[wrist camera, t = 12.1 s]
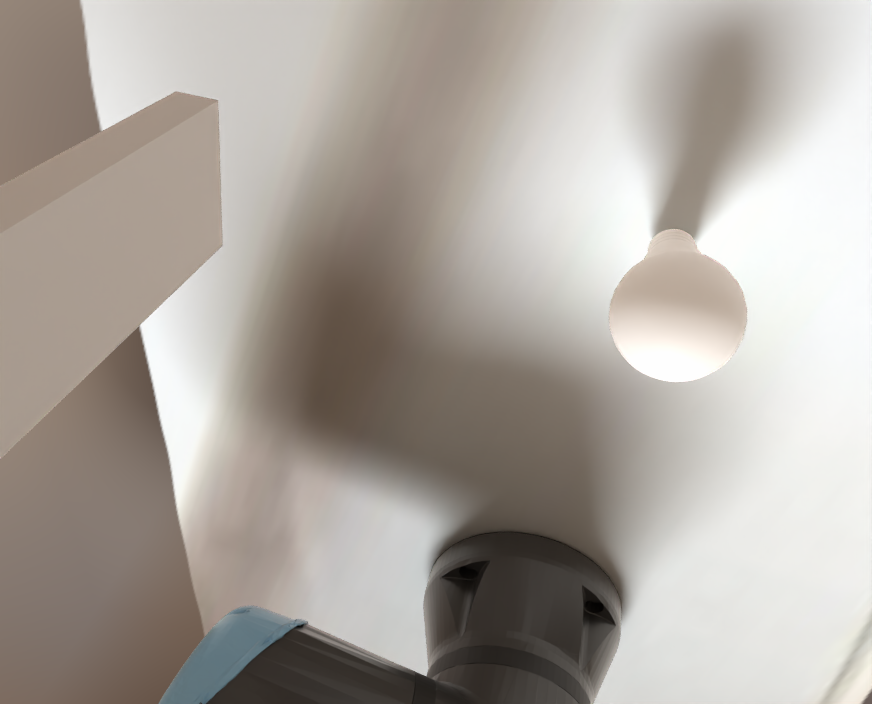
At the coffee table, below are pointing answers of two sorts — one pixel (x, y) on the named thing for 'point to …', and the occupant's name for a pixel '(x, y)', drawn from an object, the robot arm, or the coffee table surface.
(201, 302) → the coffee table surface
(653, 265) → the lightbulb
